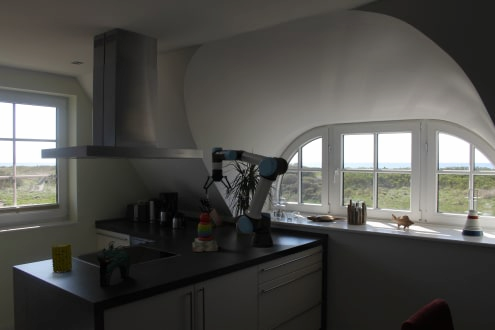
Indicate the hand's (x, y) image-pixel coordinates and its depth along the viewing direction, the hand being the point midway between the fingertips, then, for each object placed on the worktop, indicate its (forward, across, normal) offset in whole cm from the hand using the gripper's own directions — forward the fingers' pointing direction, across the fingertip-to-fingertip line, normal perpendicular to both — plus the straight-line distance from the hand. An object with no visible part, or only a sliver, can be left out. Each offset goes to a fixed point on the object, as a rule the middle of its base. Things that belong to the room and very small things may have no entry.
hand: (217, 198), depth 280 cm
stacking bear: (+26, +10, +18) cm, 33 cm away
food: (+32, +88, +58) cm, 110 cm away
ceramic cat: (+32, +57, +82) cm, 105 cm away
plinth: (+32, +10, +18) cm, 38 cm away
